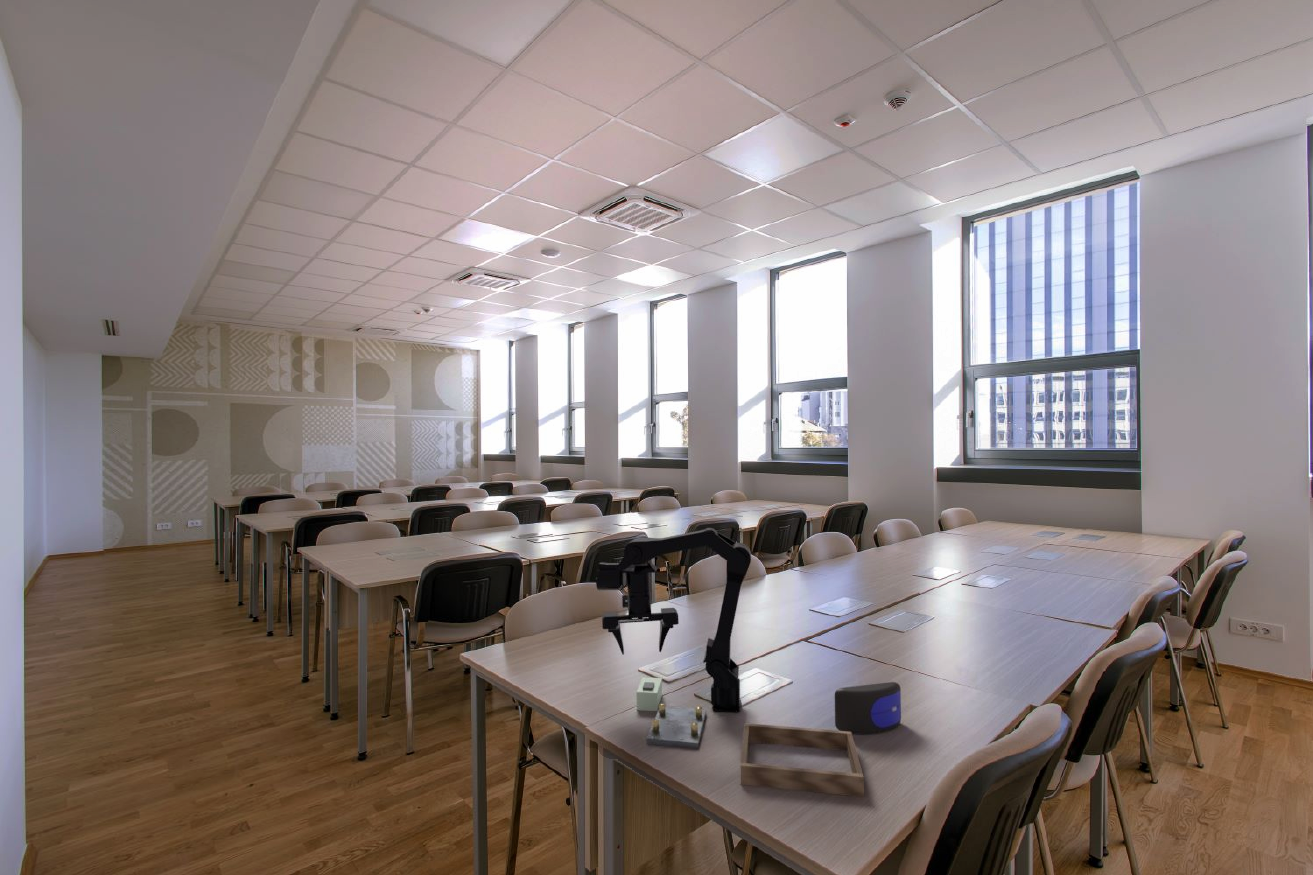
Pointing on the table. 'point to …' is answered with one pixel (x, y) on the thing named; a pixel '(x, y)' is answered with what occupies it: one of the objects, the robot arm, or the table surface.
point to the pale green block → (649, 694)
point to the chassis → (677, 726)
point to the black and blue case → (868, 708)
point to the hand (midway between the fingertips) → (641, 652)
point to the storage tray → (800, 776)
